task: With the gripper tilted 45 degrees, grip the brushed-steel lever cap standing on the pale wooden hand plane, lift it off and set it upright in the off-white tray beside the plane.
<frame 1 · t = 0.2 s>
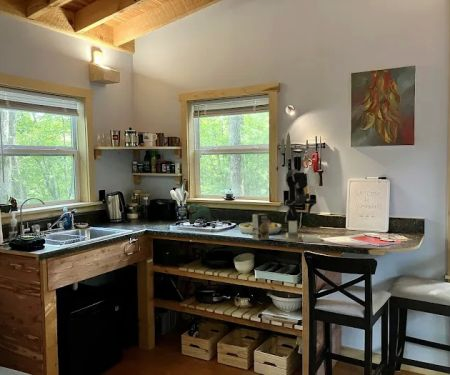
hand: (301, 216, 260), 15 cm above the worktop, tool tilted 15°, fingers open, 9 cm apart
plane body: (292, 239, 266), on the worktop
tray: (311, 240, 262), on the worktop
lever cap: (292, 237, 262), point 2 cm above the worktop, touching plane body
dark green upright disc: (199, 225, 328), on the worktop
bowl: (259, 232, 296), on the worktop
coffee box: (260, 239, 268), on the worktop
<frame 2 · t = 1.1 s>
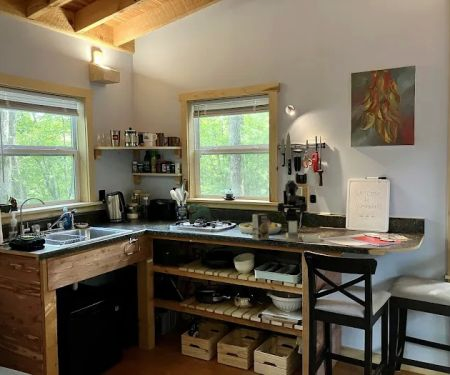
hand: (292, 217, 269), 13 cm above the worktop, tool tilted 45°, fingers open, 9 cm apart
nothing on the worktop moved.
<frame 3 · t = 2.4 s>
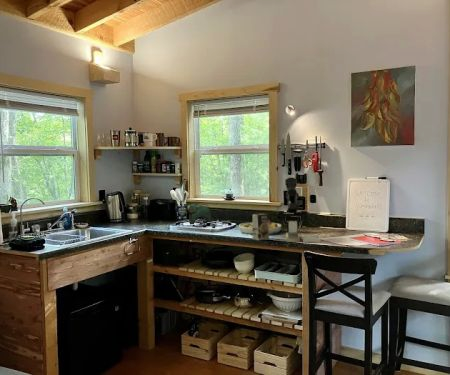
hand: (292, 225, 263), 9 cm above the worktop, tool tilted 45°, fingers open, 9 cm apart
nothing on the worktop moved.
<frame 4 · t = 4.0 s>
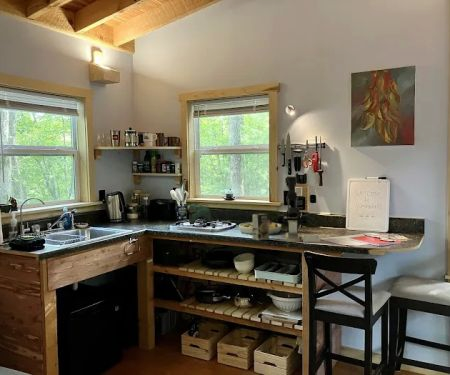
hand: (292, 230, 260), 7 cm above the worktop, tool tilted 45°, fingers closed on lever cap, 5 cm apart
lever cap: (292, 237, 262), point 2 cm above the worktop, touching gripper, plane body
everything else where it was.
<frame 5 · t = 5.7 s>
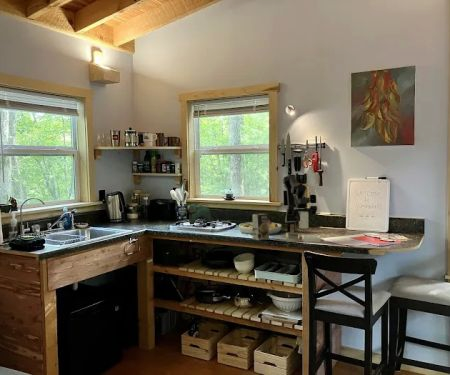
hand: (304, 220, 259), 12 cm above the worktop, tool tilted 45°, fingers closed on lever cap, 5 cm apart
lever cap: (303, 227, 261), point 8 cm above the worktop, touching gripper
everything else where it was.
when the fingers open (7 cm above the worktop, at t = 7.6 s): lever cap drops 2 cm, resting on tray.
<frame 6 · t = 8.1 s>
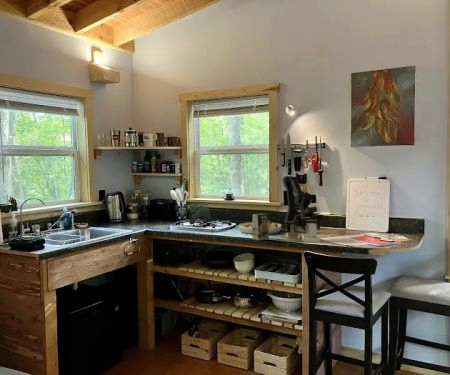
hand: (312, 229, 260), 7 cm above the worktop, tool tilted 45°, fingers open, 9 cm apart
lever cap: (311, 239, 261), resting on tray
everything else where it was.
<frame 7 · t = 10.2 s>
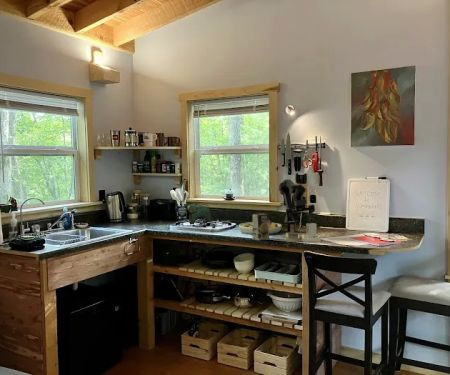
hand: (302, 221, 270), 10 cm above the worktop, tool tilted 40°, fingers open, 9 cm apart
nothing on the worktop moved.
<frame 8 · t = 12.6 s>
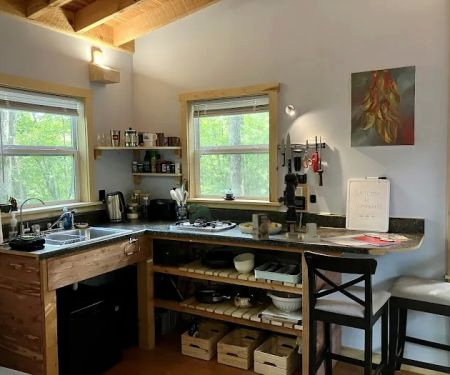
hand: (290, 215, 281), 13 cm above the worktop, tool pointing down, fingers open, 9 cm apart
nothing on the worktop moved.
at the end: lever cap inside the target area on the tray (0.0 cm from its centre), point 0.4 cm above the tray's base; lever cap tilted 0°; the gripper is holding nothing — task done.
